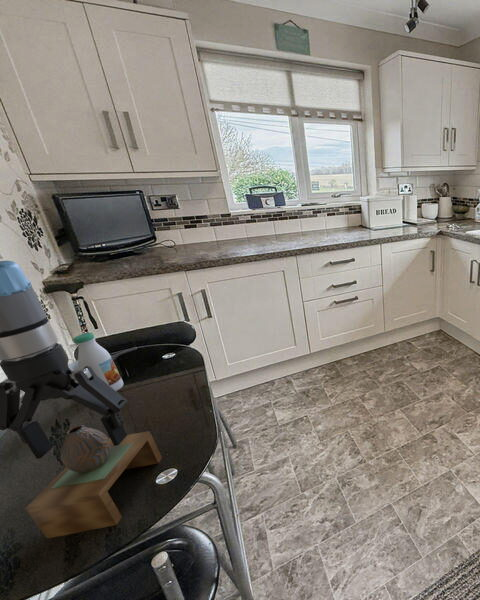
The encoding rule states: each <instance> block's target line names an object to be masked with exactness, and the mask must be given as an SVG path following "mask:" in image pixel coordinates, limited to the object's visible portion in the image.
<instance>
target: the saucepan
mask: <svg viewBox="0 0 480 600" xmlns="http://www.w3.org/2000/svg"><path fill="white" fill-rule="evenodd" d="M133 351H137V347H136V346H134V347H131V348H128V349H126V350H122V351H119V352H117V353H115V354H113V355H112V354H110V356H111V358H112V360H113V361H115V360H116V359H117V358H119V356H122V355H124V354H127V353H131V352H133ZM68 367H69V368H70V369H71V370H72V371H73V372H74V371H78V370H81V369H80V366H79V364H78V359H77V360H75V361H73V362H71V363H68Z"/></svg>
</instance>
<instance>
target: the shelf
mask: <svg viewBox="0 0 480 600" xmlns="http://www.w3.org/2000/svg"><path fill="white" fill-rule="evenodd" d="M153 437H154V436H152V433H151V431H150V430H147V431H142V432H137V433H136V432H135V433H130V434H127V436H126V437H125V438H124V439H123V441H122V442H121V443H120V444H119V445H117V446H114V444H113V442H112V440H111V438H110V437H108V439H109V441H110V443H111V453H110V455H109V457H108V459H107V460H106V462H105V463H104V464H102V465H101V466H100V467H98V468H96V469H95V470H92V471H89V472H83V473H79V472H74V471H71V470H70V469H68V468H67V467H66V466H65V467H64V469H63V470H62V471H61V472H59V473H58V474H57V476H55V478H54V479H53V480H51V482H49V484H47V486H46V487H44V489H43V490H42V491H41V492H40V493H39V494H38V495H36V497H35V498H34V499H33V500H32V501H30V503H29V504H28V505H27V506H26V507H25V508H24V509H25V511H26V512H27V513H28V514H29V516H30V517H31V518H32V520H33V521H34V523H35V524H36V526H37V527H38V529H39V530H40V531H41V532H42V535H44V537H45V538H46V539H49V540H50V539H52V538H58V537H64V536H68V535H72V534H73V535H74V534H77V533H82V532H87V531H93V530H98V529H103V528H108V527H113V526H114V527H115V526H117V525H118V524H119V523H120V521H121V519H122V518H123V516H122V515H121V512H120V511H119V509H118V507H117V505H116V504H115V502H114V500H113V499H112V497H111V496H110V493H109V492H108V491H109V490H110V489H111V488H112V486H113V485H114V484H115V483H116V481H117V480H118V479H119V477H120V476H121V475H122V473H123V472H124V471H125V470H130V469H136V468H142V467H145V466H146V467H147V466H152V465H158V464H159V463H160V462H161V461H162V459H163V457H162V455H161V453H160V451H159V448H158V446H157V444H156V442H155V439H154V438H153Z"/></svg>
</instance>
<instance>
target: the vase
mask: <svg viewBox="0 0 480 600" xmlns="http://www.w3.org/2000/svg"><path fill="white" fill-rule="evenodd" d="M108 438H109V437H108V436H107V434H105V432H103V431H101V430H99V429H97V428H91V427H87V426H86V425H83V424H79V425H75V426H73V427H71V428H70V429H68V430H67V431H66V435H65V439H64V440H63V443H62V445H61V447H60V459H61V462H62V464H63V465H64V466H65V468H66V467H67V468H68V469H70V470H71V471H74V472H79V473H83V472H89V471H92V470H95V469H96V468H98V467H100V466H101V465H102V464H104V463H105V462H106V460H107V459H108V457H109V455H110V453H111V443H110V441H109V439H108Z"/></svg>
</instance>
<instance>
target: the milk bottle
mask: <svg viewBox="0 0 480 600" xmlns="http://www.w3.org/2000/svg"><path fill="white" fill-rule="evenodd" d="M73 342H74V344H75V346H77V349H78V355H77V360H78V364H79V366H80V369H83V368H84V367H86V366H90V367H91V368H92V369H93V371H94V373H95V374H96V376H98V377H99V378H100V379H101V380H103V381H104V382H105V383H106V384H108V385H109V386H110V387H111V388H113V389H114V390H115V391H116V392H118V391H119V390H120V389H122V388H123V386H124V381H123V379H122V376H121V374H120V373H119V370H118V368H117V366H116V364H115V362H114V360H112V358H111V354H110V353H109V351H108V350H107V349H105V348H104V347H103V346H101V345H100V344H99V343H98V342H97V341H96V338H95V335H94V333H93V332H86V333H82V334H79V335H76V336H74V337H73Z"/></svg>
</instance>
